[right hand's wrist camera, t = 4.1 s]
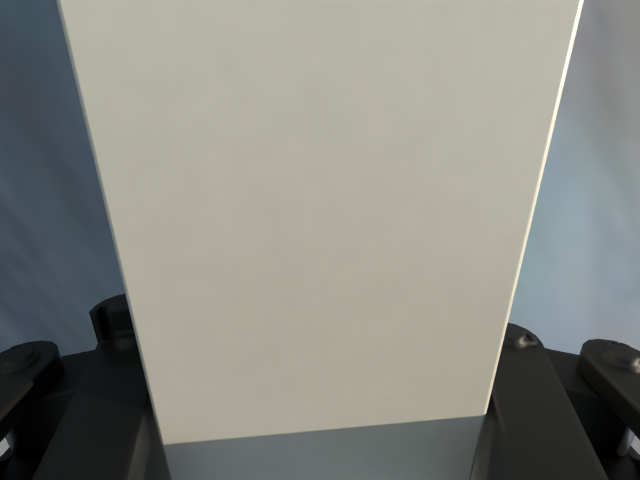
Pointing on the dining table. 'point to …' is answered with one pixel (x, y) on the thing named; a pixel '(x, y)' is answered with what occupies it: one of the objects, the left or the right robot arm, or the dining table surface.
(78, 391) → the right robot arm
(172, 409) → the bar
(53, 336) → the dining table surface
